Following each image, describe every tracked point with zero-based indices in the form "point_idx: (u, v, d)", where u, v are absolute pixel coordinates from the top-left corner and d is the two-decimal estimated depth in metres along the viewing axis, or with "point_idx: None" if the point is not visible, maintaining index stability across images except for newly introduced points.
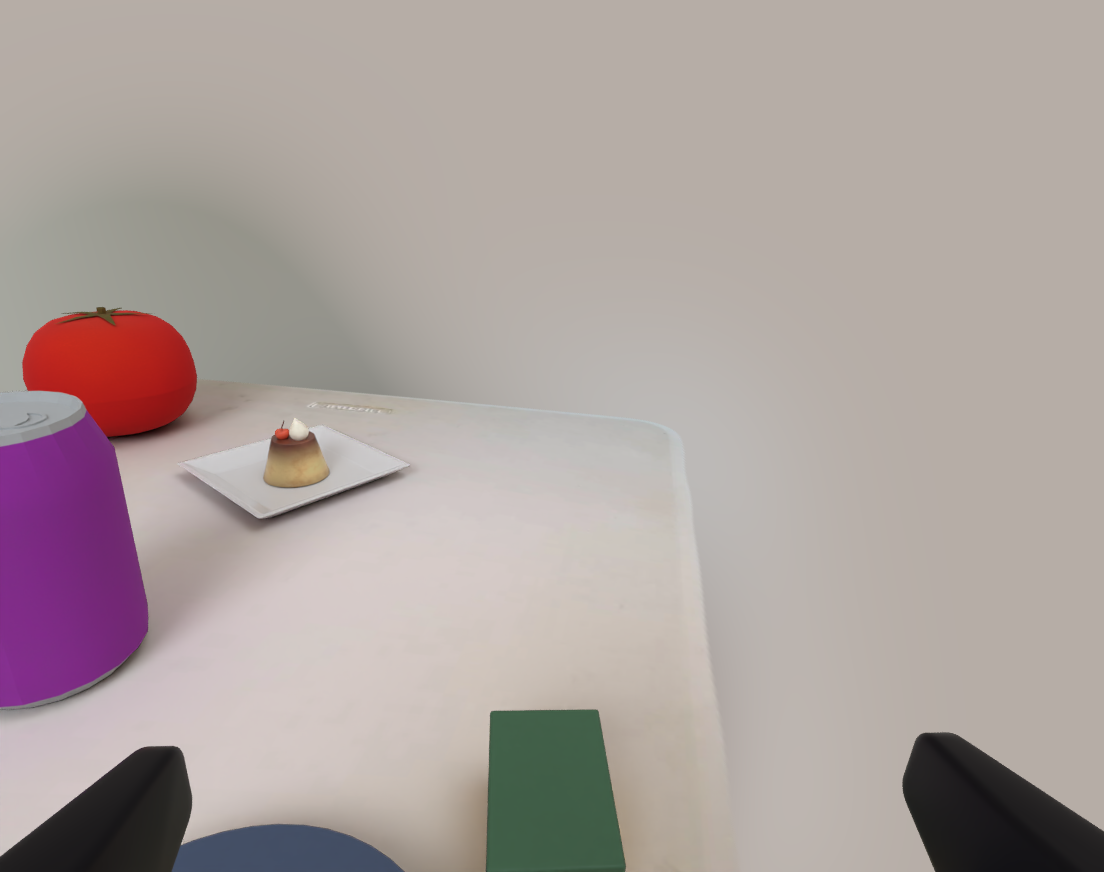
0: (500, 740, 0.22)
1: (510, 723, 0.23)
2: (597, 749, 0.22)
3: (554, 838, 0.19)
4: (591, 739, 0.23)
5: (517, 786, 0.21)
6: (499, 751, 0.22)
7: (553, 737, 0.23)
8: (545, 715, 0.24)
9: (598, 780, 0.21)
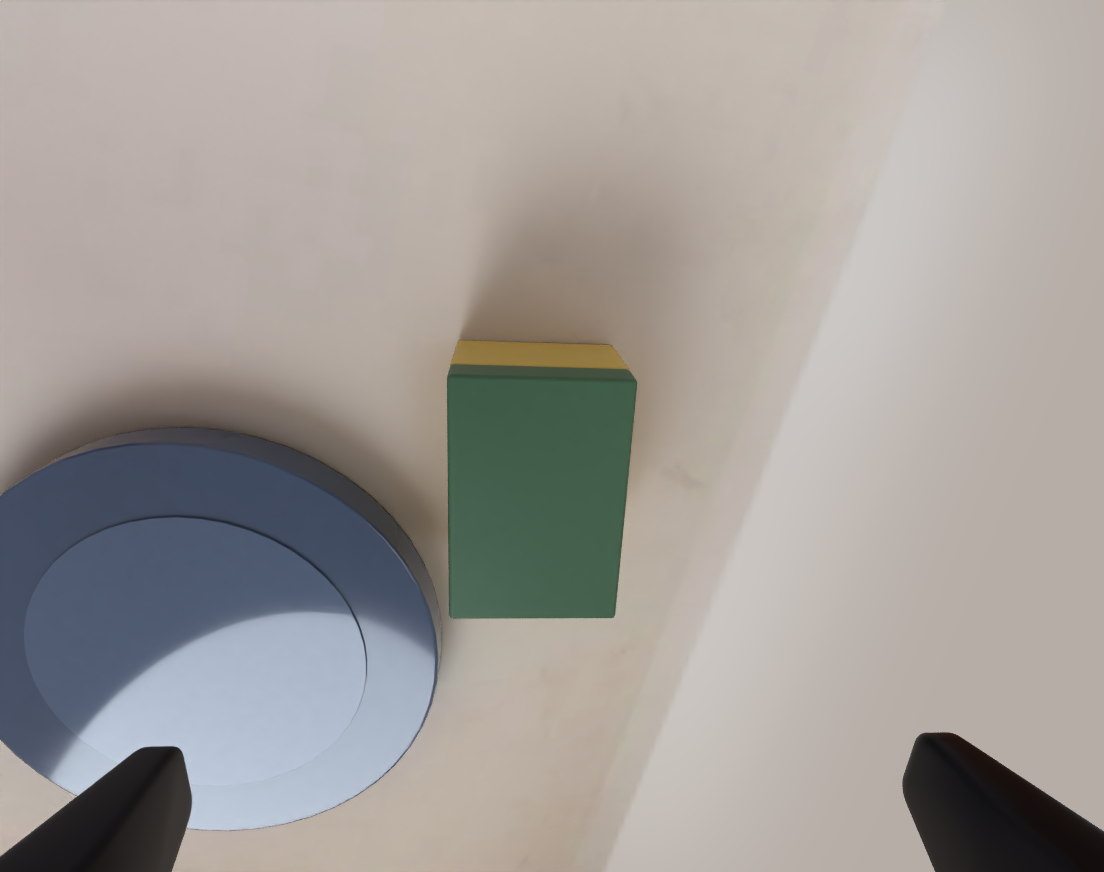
0: (465, 438, 0.14)
1: (482, 405, 0.14)
2: (617, 461, 0.14)
3: (534, 586, 0.15)
4: (612, 442, 0.14)
5: (490, 517, 0.14)
6: (463, 458, 0.14)
7: (551, 438, 0.14)
8: (543, 391, 0.14)
9: (607, 512, 0.15)
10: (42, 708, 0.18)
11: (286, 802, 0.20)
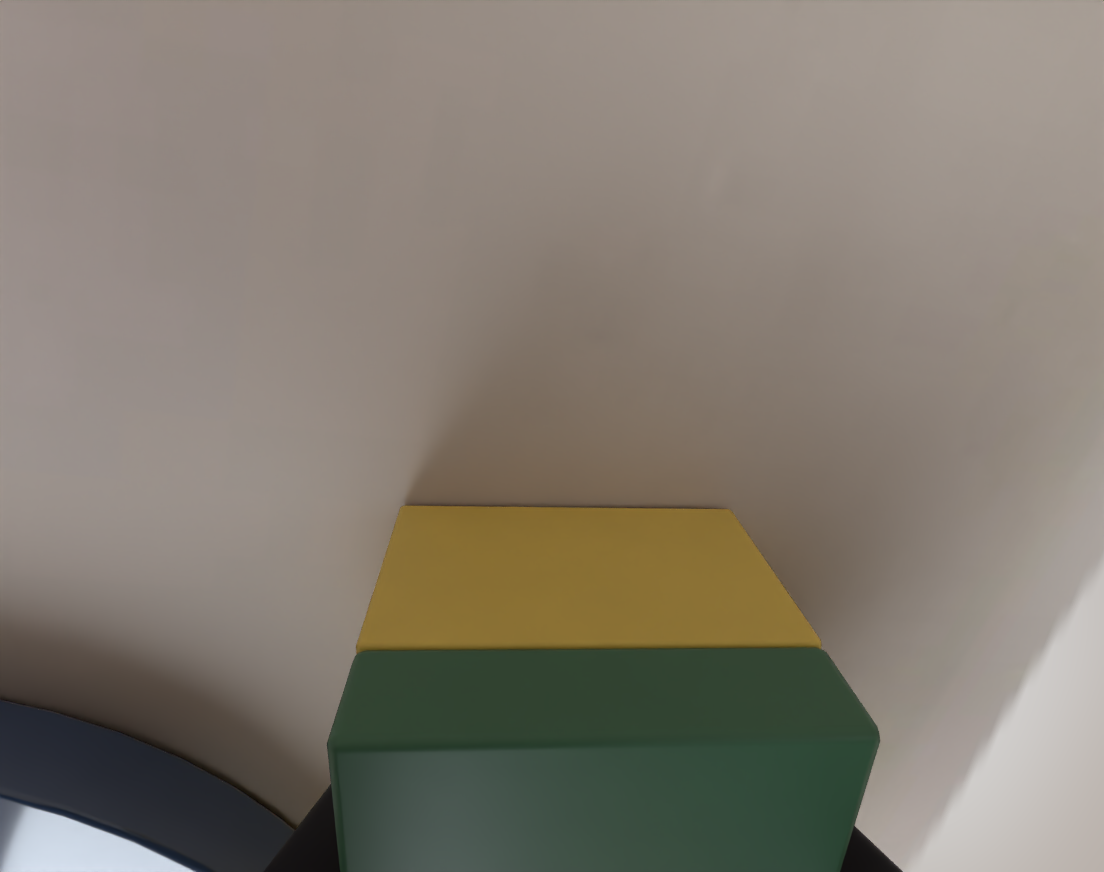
0: None
1: (436, 810, 0.05)
2: None
3: None
4: (793, 868, 0.05)
5: None
6: None
7: (628, 870, 0.05)
8: (613, 770, 0.05)
9: None
10: None
11: None
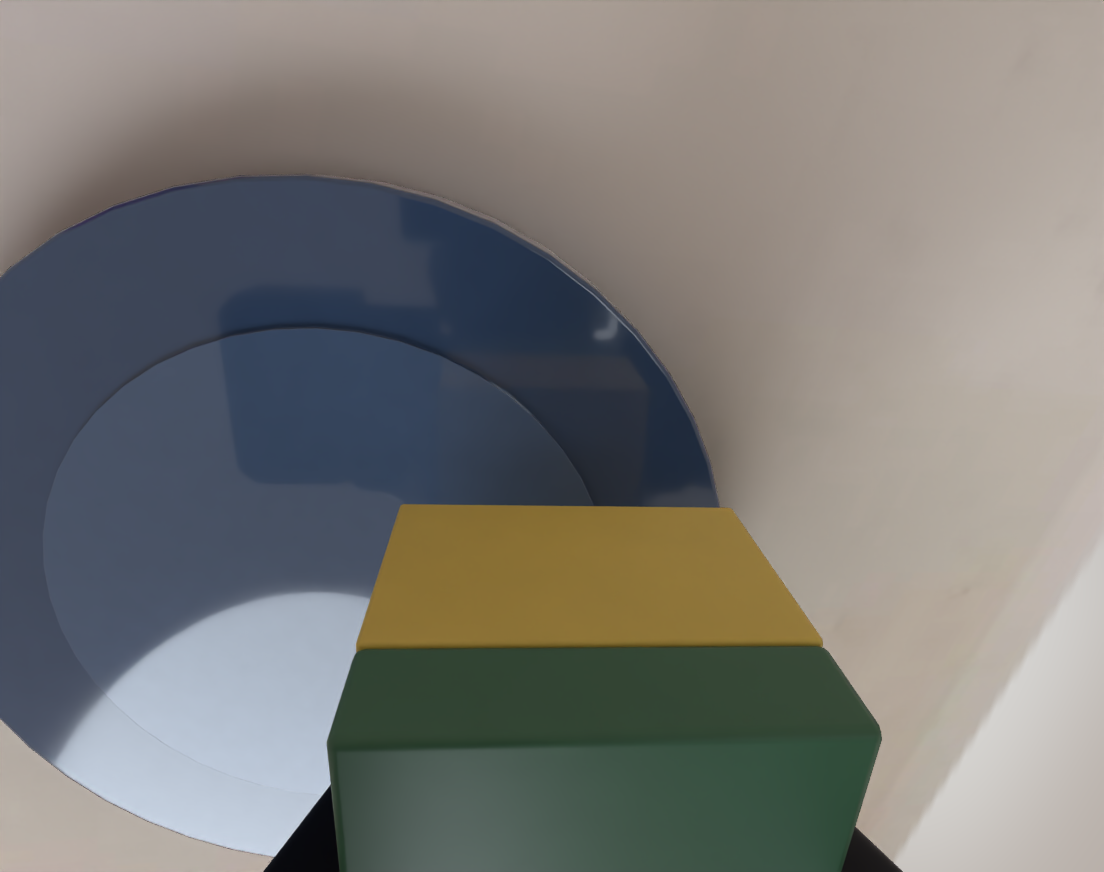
0: None
1: (436, 809, 0.05)
2: None
3: None
4: (795, 867, 0.05)
5: None
6: None
7: (628, 868, 0.05)
8: (614, 769, 0.05)
9: None
10: (74, 673, 0.11)
11: None
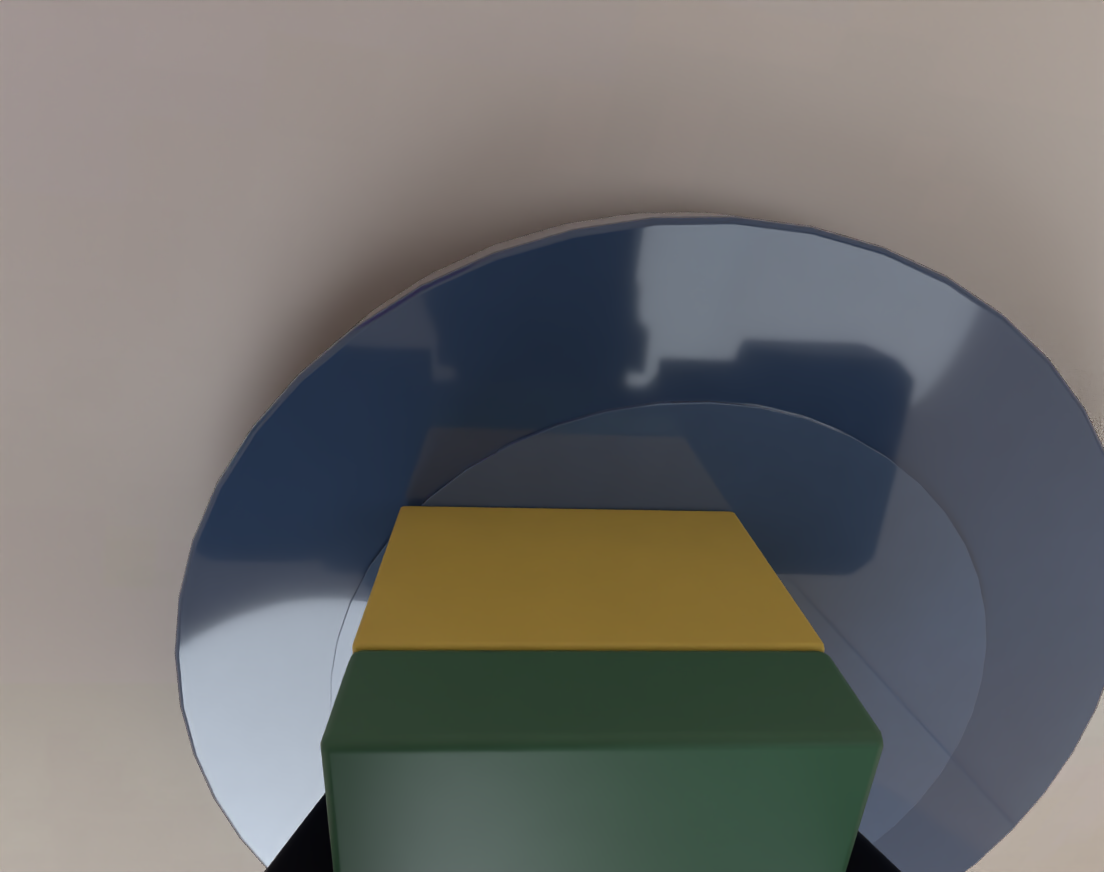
0: None
1: (430, 814, 0.05)
2: None
3: None
4: None
5: None
6: None
7: None
8: (611, 774, 0.05)
9: None
10: None
11: None
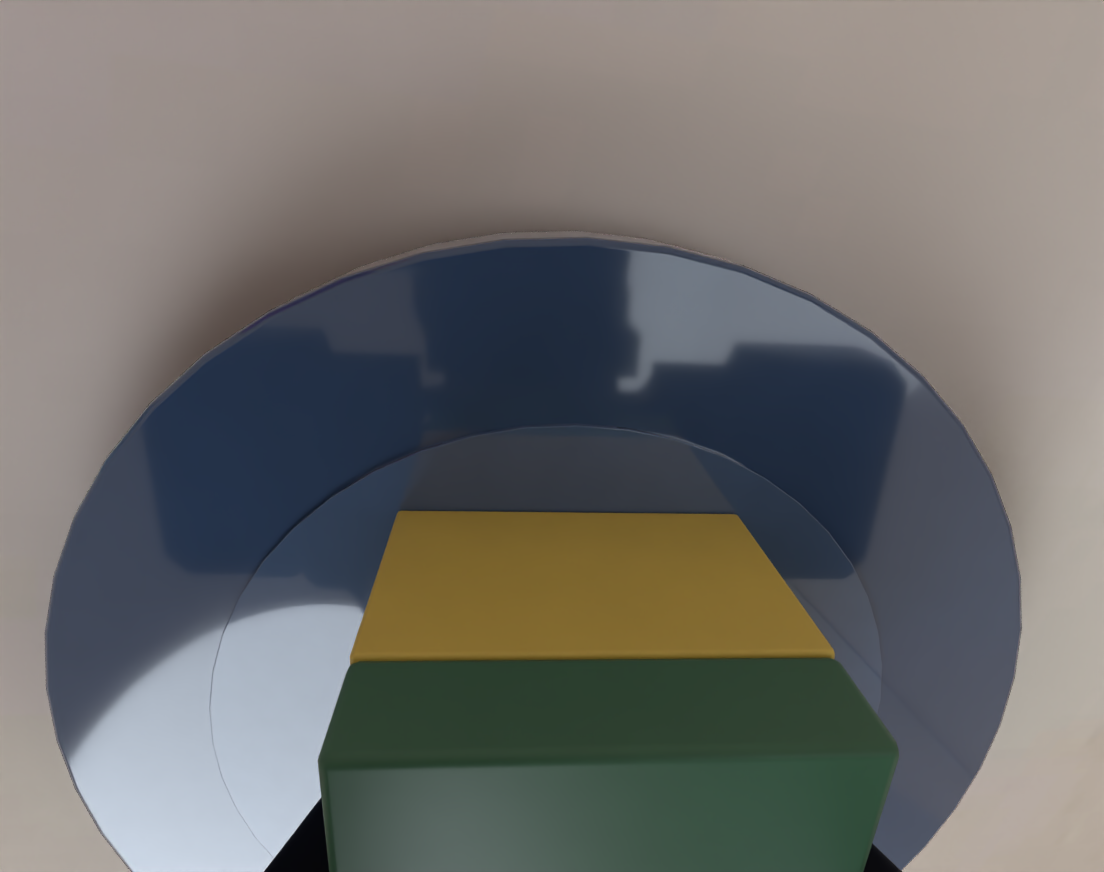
0: None
1: (433, 831, 0.04)
2: None
3: None
4: None
5: None
6: None
7: None
8: (619, 788, 0.04)
9: None
10: (230, 825, 0.09)
11: None
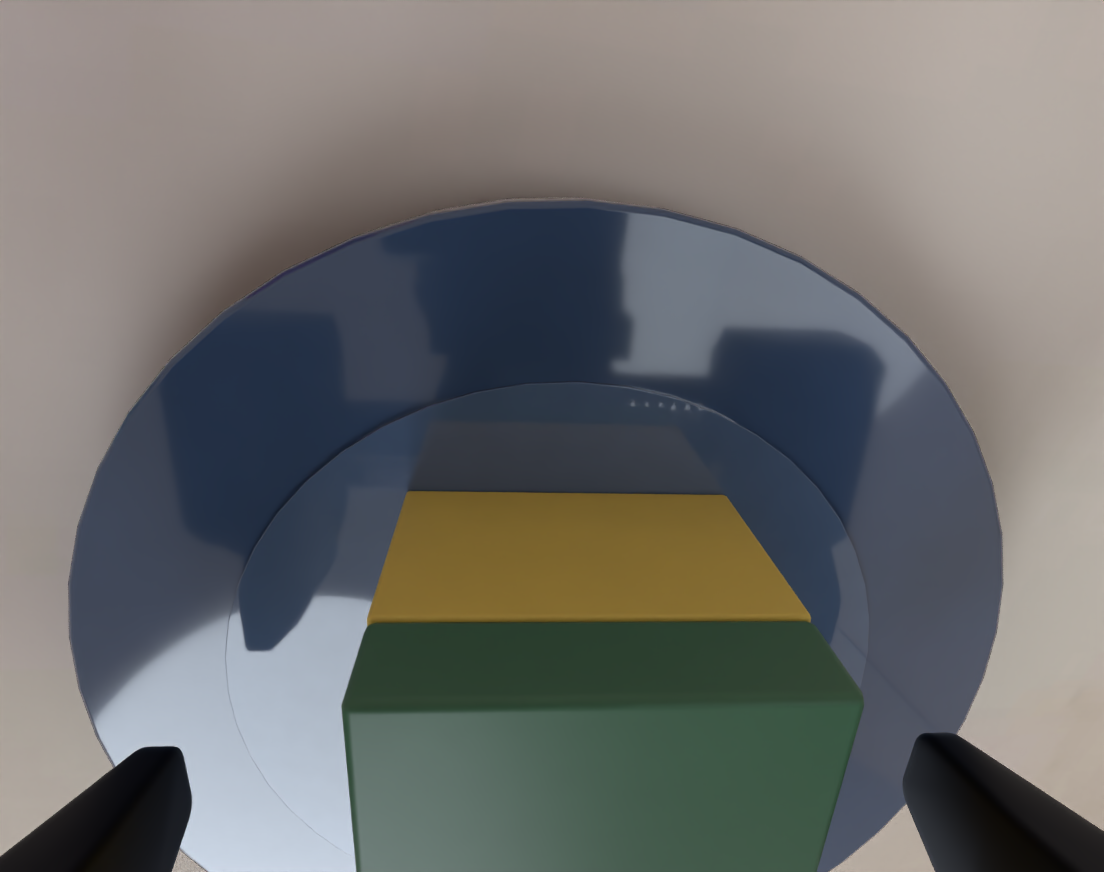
0: (399, 841, 0.05)
1: (444, 769, 0.05)
2: (792, 865, 0.06)
3: None
4: (783, 829, 0.05)
5: None
6: None
7: (626, 829, 0.05)
8: (612, 732, 0.05)
9: None
10: (244, 772, 0.09)
11: None
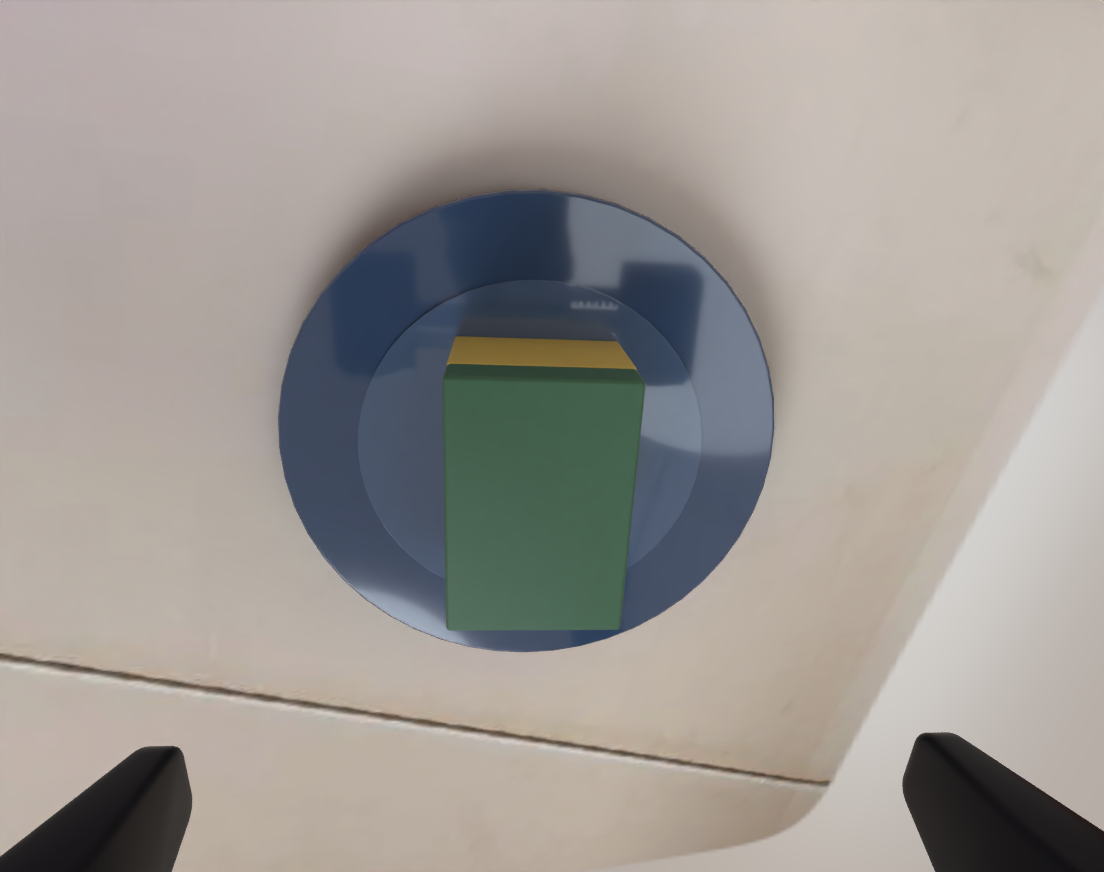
0: (462, 443, 0.13)
1: (480, 408, 0.13)
2: (624, 467, 0.13)
3: (535, 597, 0.14)
4: (619, 447, 0.13)
5: (488, 526, 0.14)
6: (460, 464, 0.13)
7: (553, 442, 0.13)
8: (545, 393, 0.13)
9: (613, 520, 0.14)
10: (362, 504, 0.17)
11: None
